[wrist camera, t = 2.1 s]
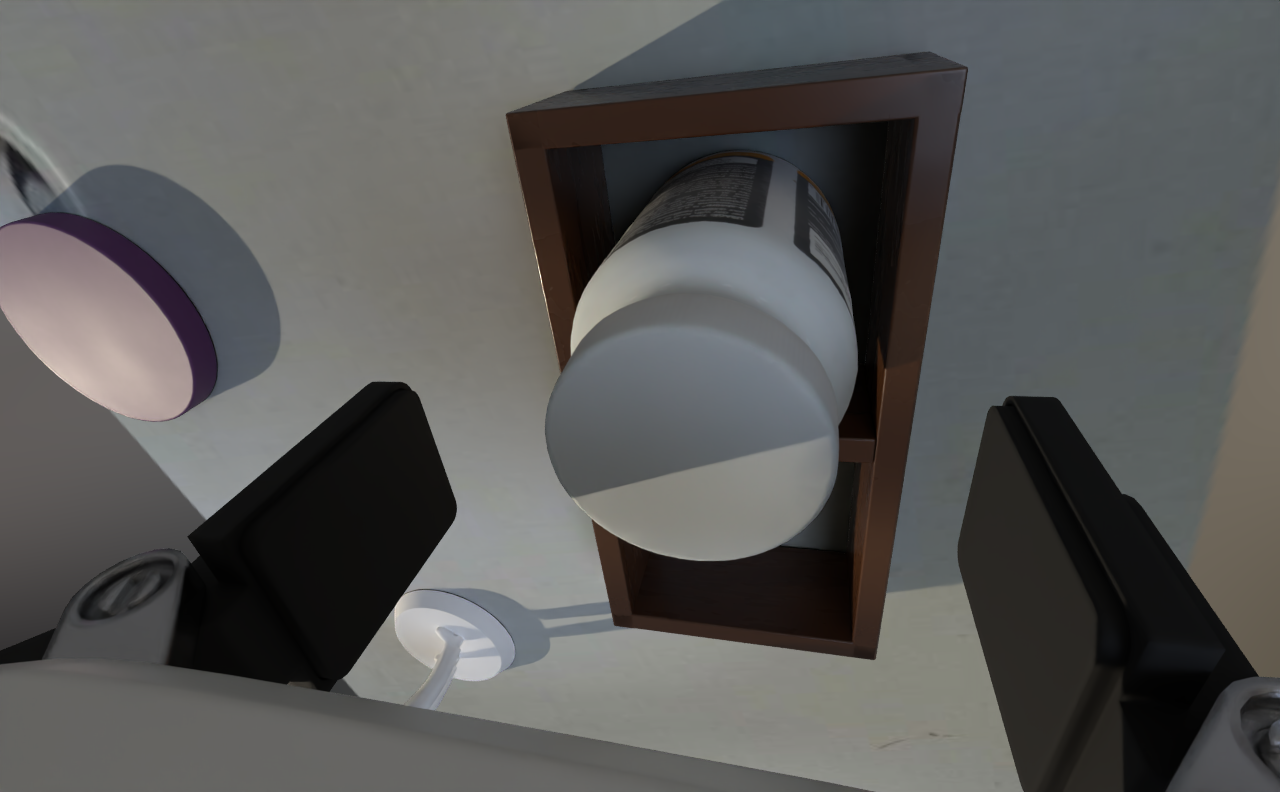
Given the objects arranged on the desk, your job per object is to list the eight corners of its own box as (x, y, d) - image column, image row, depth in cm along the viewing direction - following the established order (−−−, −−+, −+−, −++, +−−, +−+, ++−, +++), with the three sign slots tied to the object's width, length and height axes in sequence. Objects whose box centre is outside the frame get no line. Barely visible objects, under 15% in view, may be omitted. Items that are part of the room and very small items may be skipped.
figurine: (399, 571, 31) (207, 837, 21) (527, 625, 30) (394, 918, 21) (390, 642, 35) (226, 891, 25) (502, 689, 35) (382, 958, 25)
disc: (-28, 217, 24) (-63, 226, 23) (140, 205, 22) (109, 215, 21) (104, 404, 29) (79, 418, 28) (253, 410, 26) (232, 426, 25)
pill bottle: (626, 304, 19) (495, 524, 11) (670, 117, 16) (528, 236, 8) (796, 358, 19) (788, 625, 11) (878, 179, 16) (954, 369, 7)
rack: (565, 90, 16) (504, 113, 13) (931, 51, 14) (969, 66, 11) (638, 546, 25) (613, 626, 22) (866, 568, 23) (876, 661, 20)
